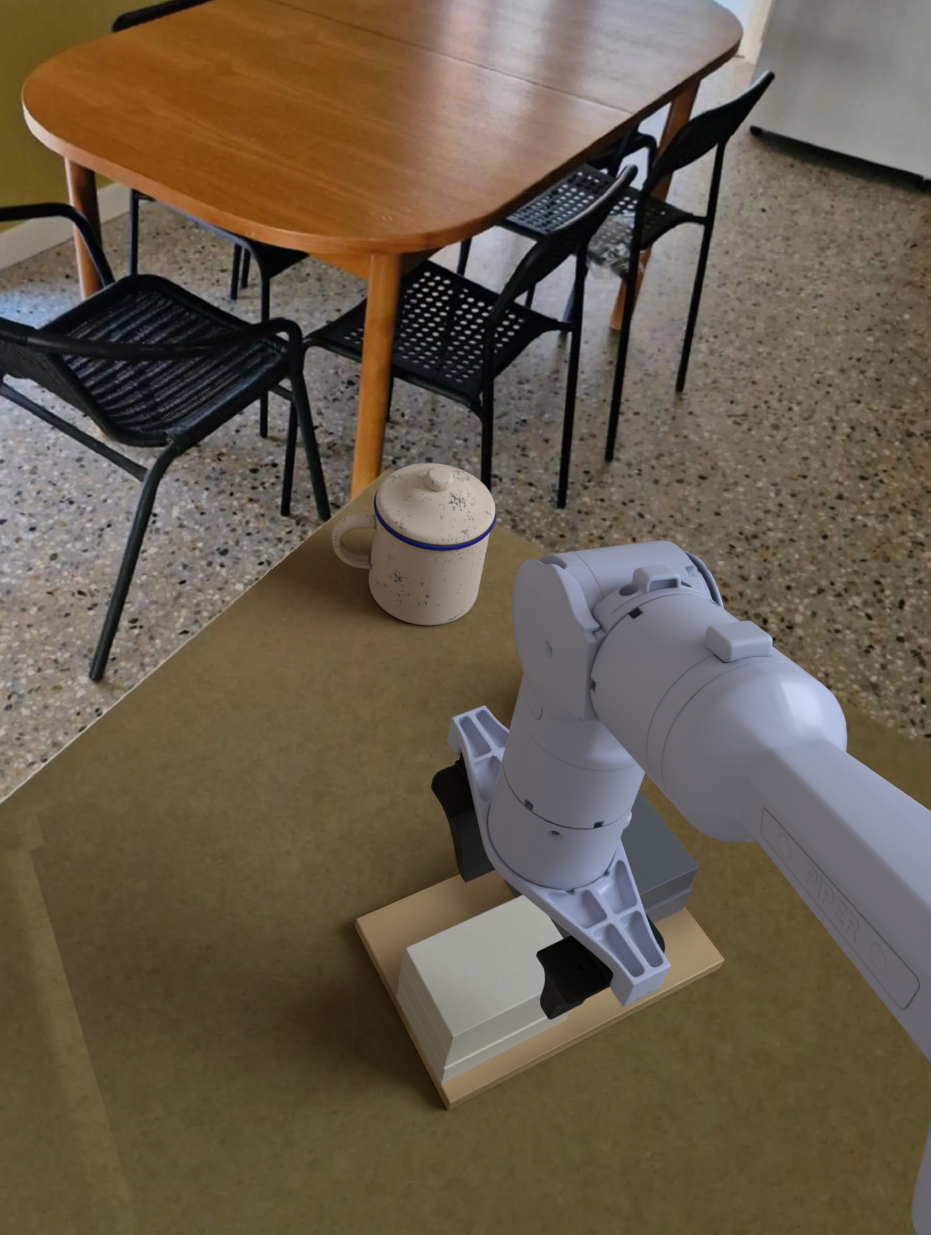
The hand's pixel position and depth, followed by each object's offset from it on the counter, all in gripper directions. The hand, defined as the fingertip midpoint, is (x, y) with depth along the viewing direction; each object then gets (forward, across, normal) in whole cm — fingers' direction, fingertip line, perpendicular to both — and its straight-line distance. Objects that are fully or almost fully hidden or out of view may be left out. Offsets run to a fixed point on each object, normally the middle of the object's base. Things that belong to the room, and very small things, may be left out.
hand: (518, 934), depth 56 cm
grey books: (+9, +4, -9) cm, 13 cm away
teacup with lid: (+10, +32, -12) cm, 35 cm away
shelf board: (+10, +3, -5) cm, 11 cm away
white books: (+9, +1, 0) cm, 9 cm away
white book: (+5, +1, 0) cm, 5 cm away
